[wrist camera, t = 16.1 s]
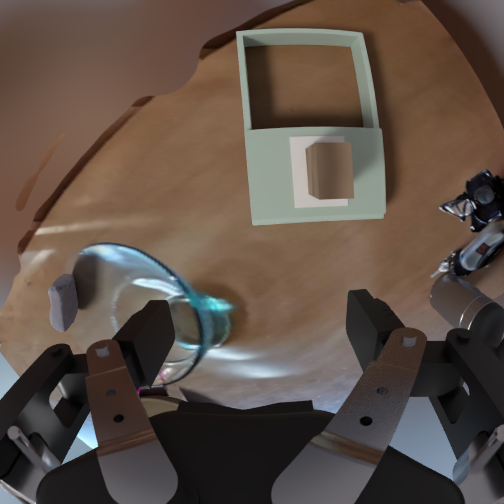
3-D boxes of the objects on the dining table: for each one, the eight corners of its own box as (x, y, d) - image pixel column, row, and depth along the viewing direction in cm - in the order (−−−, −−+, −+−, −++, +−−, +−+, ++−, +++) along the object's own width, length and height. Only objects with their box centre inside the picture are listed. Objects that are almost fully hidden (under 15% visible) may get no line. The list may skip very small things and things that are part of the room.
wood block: (333, 148, 39) (350, 142, 30) (336, 193, 41) (354, 198, 32) (305, 149, 39) (315, 142, 31) (308, 194, 41) (319, 199, 33)
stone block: (84, 316, 57) (62, 336, 48) (70, 309, 57) (47, 328, 48) (85, 273, 54) (59, 290, 45) (70, 267, 54) (44, 282, 44)
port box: (354, 43, 38) (364, 30, 32) (373, 214, 48) (386, 219, 42) (239, 43, 40) (235, 28, 34) (254, 220, 49) (252, 226, 43)
